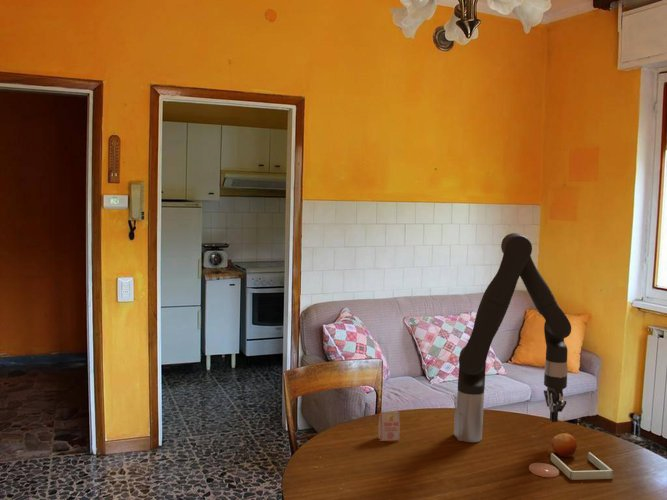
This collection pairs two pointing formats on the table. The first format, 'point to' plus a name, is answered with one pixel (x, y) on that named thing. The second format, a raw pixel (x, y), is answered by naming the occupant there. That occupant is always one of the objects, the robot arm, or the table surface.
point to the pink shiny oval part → (544, 470)
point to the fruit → (564, 445)
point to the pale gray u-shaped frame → (579, 475)
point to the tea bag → (389, 426)
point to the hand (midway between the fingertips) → (553, 421)
